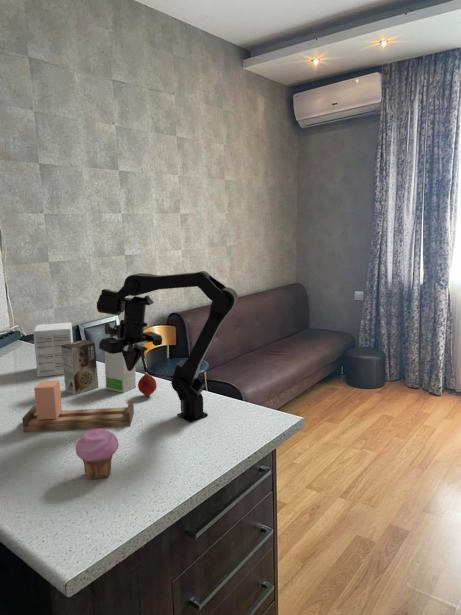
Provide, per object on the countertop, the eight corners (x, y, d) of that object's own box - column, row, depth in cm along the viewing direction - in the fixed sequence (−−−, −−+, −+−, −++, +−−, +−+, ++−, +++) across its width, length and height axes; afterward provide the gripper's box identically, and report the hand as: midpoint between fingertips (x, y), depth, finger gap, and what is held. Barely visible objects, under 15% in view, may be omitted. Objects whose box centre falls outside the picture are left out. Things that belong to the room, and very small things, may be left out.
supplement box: (40, 367, 179) (36, 324, 177) (75, 364, 183) (71, 321, 180) (36, 377, 167) (32, 331, 164) (74, 373, 171) (70, 328, 168)
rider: (62, 413, 128) (59, 380, 126) (56, 421, 122) (53, 386, 121) (44, 414, 127) (40, 381, 126) (37, 422, 122) (34, 387, 120)
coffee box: (88, 383, 158) (84, 339, 156) (99, 387, 154) (95, 341, 152) (64, 391, 151) (60, 344, 149) (75, 395, 147) (71, 347, 145)
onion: (158, 393, 148) (157, 369, 146) (154, 399, 142) (153, 375, 141) (141, 392, 148) (140, 369, 147) (136, 399, 143) (134, 375, 141)
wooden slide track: (133, 413, 132) (133, 400, 131) (130, 426, 123) (129, 412, 122) (34, 418, 129) (33, 405, 128) (23, 432, 120) (22, 418, 120)
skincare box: (105, 389, 152) (102, 344, 150) (118, 383, 158) (116, 340, 155) (124, 393, 148) (121, 347, 146) (137, 387, 154) (135, 342, 152)
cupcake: (76, 488, 93) (72, 442, 92) (79, 467, 101) (75, 425, 100) (120, 481, 95) (118, 436, 94) (119, 461, 104) (116, 420, 102)
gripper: (140, 309, 139) (136, 357, 142) (88, 314, 124) (85, 368, 127) (165, 317, 132) (160, 368, 135) (114, 324, 118) (109, 380, 121)
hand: (129, 370), depth 130 cm, fingers closed
